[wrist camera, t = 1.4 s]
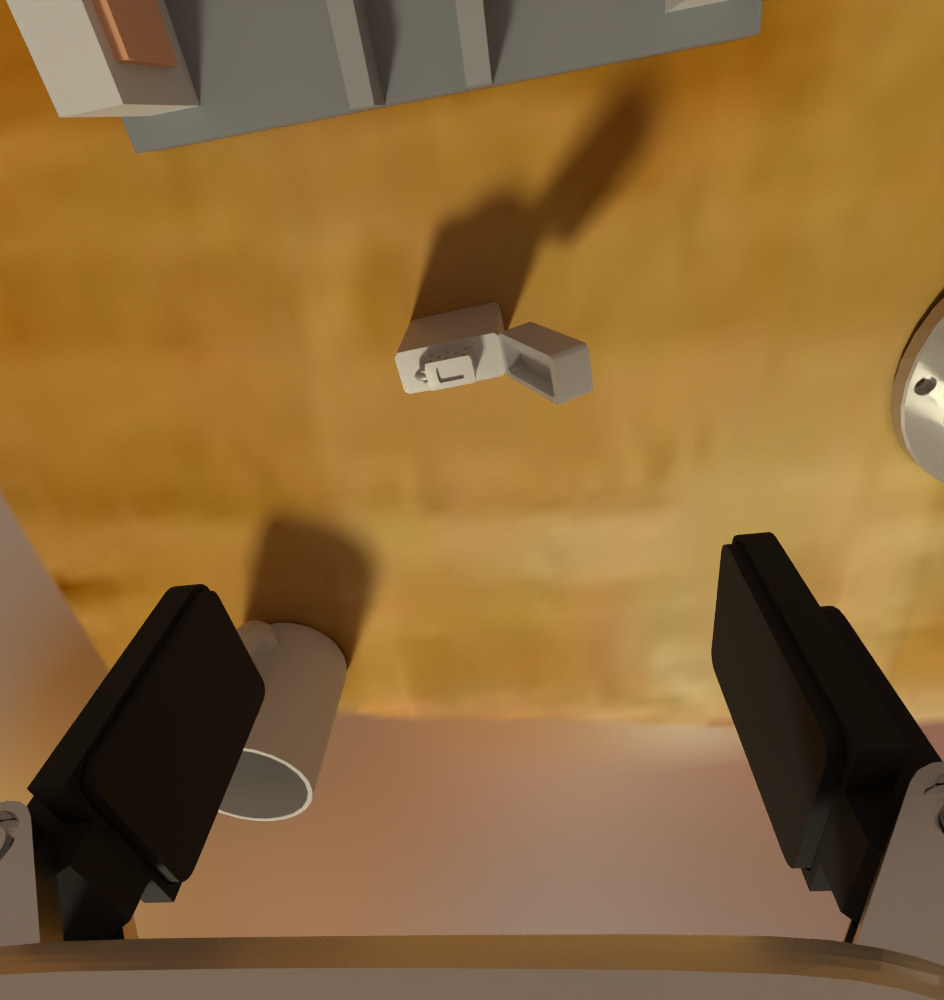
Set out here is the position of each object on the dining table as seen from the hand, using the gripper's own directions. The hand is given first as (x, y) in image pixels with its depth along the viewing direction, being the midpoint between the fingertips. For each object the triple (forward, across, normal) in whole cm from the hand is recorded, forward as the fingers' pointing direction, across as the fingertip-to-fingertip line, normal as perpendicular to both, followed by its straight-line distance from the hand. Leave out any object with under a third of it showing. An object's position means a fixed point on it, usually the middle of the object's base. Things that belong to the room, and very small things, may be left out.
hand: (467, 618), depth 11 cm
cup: (+18, +16, +19) cm, 31 cm away
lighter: (+18, 0, 0) cm, 18 cm away
